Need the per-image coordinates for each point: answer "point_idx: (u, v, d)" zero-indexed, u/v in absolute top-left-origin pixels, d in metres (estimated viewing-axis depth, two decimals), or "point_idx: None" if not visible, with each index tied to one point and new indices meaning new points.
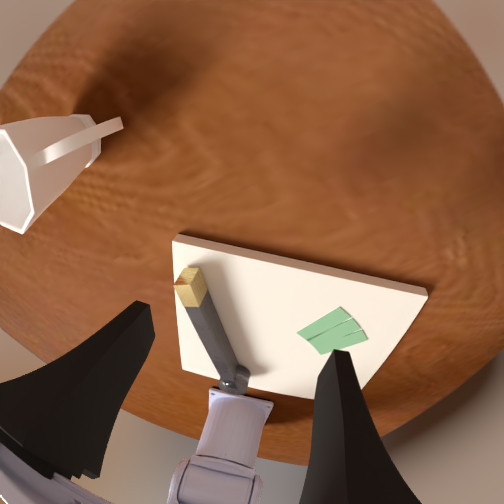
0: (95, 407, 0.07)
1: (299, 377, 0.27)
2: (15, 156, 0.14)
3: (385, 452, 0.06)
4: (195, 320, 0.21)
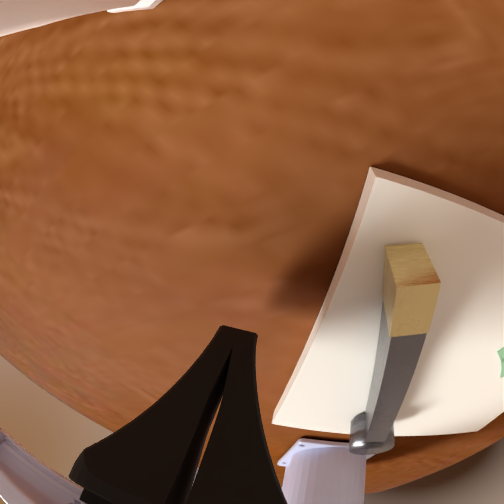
0: (197, 447, 0.07)
1: (452, 412, 0.14)
2: None
3: (261, 440, 0.06)
4: (397, 362, 0.08)
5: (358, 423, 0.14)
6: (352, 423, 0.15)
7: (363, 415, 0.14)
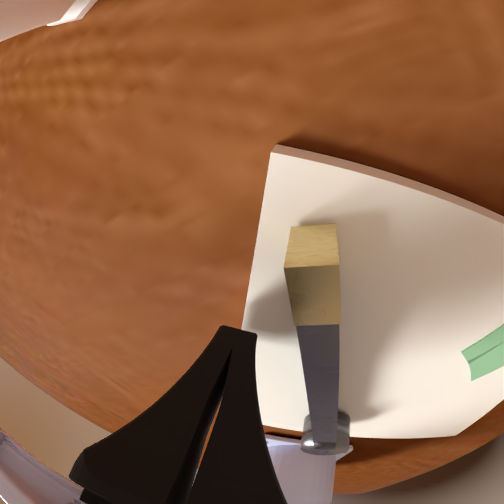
0: (197, 447, 0.07)
1: (419, 416, 0.14)
2: None
3: (261, 440, 0.06)
4: (313, 355, 0.08)
5: (309, 421, 0.14)
6: (304, 421, 0.15)
7: None
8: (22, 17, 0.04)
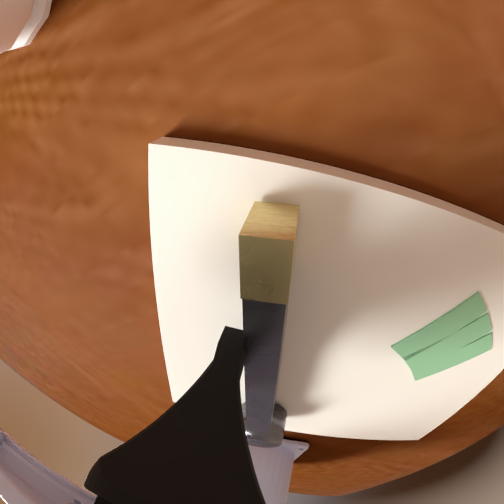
0: None
1: (365, 415, 0.15)
2: None
3: (241, 436, 0.06)
4: (256, 334, 0.09)
5: (245, 409, 0.15)
6: None
7: None
8: None
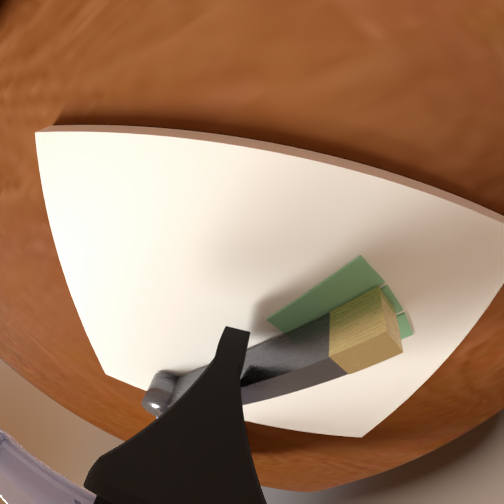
0: None
1: (279, 401, 0.15)
2: None
3: (242, 436, 0.06)
4: (301, 376, 0.09)
5: (167, 381, 0.15)
6: (160, 376, 0.15)
7: (176, 377, 0.15)
8: None
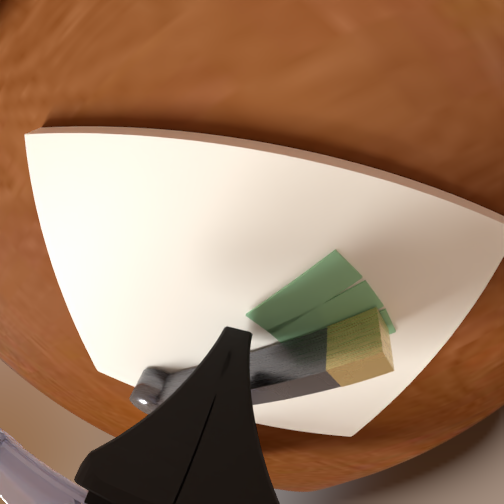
0: None
1: None
2: None
3: (254, 439, 0.06)
4: (296, 385, 0.10)
5: (157, 378, 0.15)
6: (150, 372, 0.15)
7: (166, 374, 0.15)
8: None
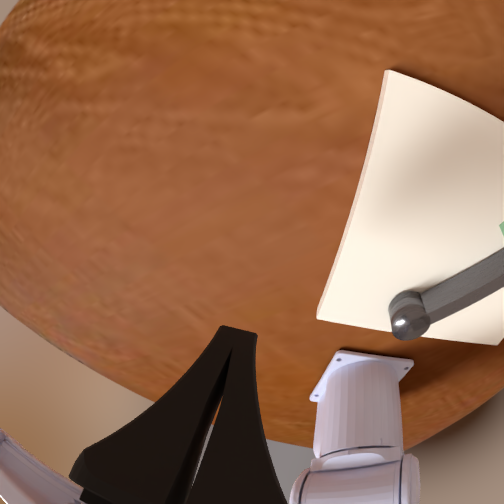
0: (197, 447, 0.07)
1: (473, 305, 0.17)
2: None
3: (261, 440, 0.06)
4: None
5: (416, 297, 0.17)
6: (408, 294, 0.17)
7: (419, 294, 0.17)
8: None
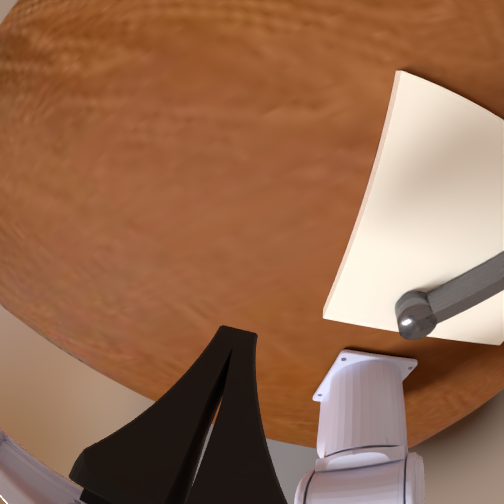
0: (197, 447, 0.07)
1: (477, 305, 0.17)
2: None
3: (261, 440, 0.06)
4: None
5: (423, 296, 0.17)
6: (415, 294, 0.17)
7: (426, 293, 0.17)
8: None
